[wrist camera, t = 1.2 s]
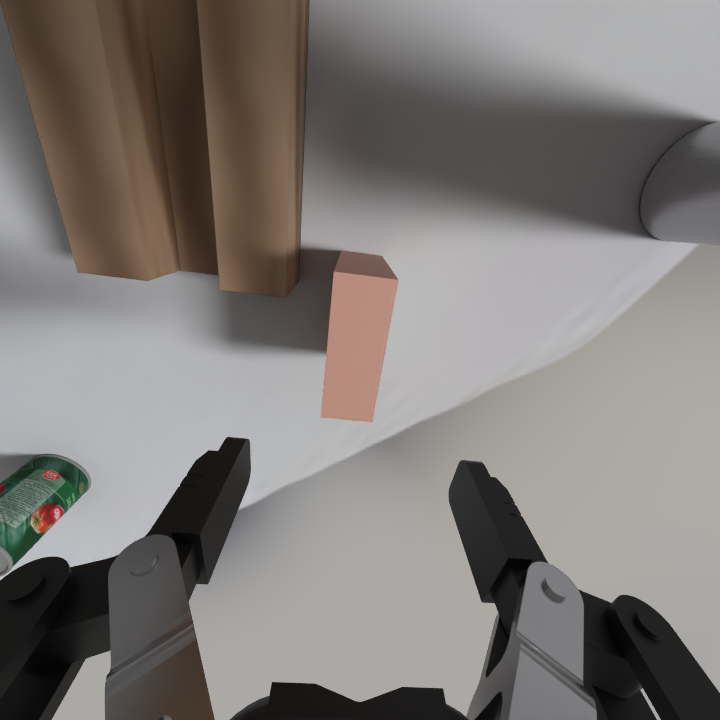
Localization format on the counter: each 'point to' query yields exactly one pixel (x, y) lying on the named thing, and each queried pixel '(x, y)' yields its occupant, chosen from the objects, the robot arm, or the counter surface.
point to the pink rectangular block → (357, 335)
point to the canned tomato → (36, 503)
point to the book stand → (172, 132)
